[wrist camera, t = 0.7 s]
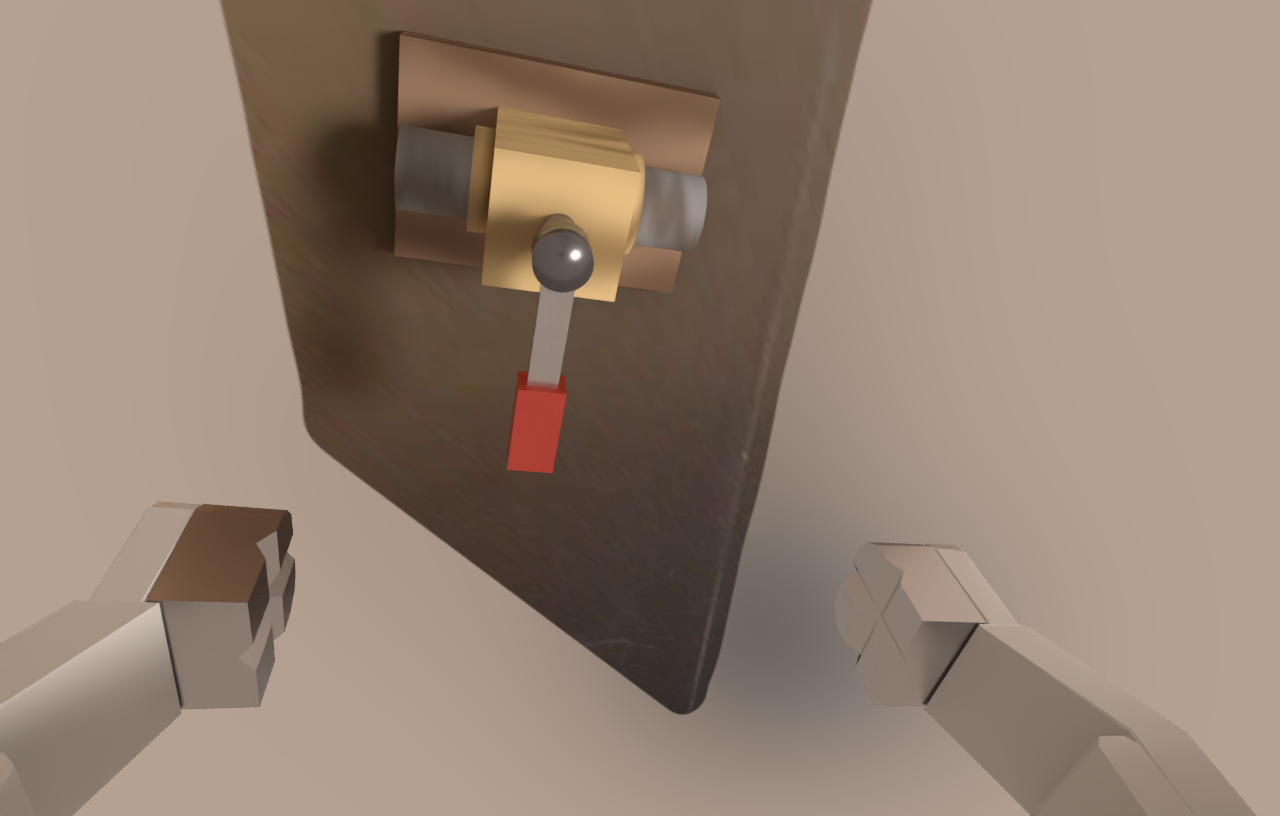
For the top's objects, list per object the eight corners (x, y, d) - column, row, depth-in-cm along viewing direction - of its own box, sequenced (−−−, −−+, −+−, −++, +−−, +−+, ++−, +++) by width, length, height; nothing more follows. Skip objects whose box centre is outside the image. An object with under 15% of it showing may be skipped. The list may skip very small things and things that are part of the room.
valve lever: (535, 216, 38) (536, 230, 36) (595, 225, 39) (598, 240, 37) (504, 449, 47) (503, 469, 45) (553, 453, 47) (555, 473, 46)
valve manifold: (402, 30, 44) (367, 73, 34) (715, 94, 48) (769, 148, 38) (397, 247, 51) (367, 336, 41) (668, 284, 56) (702, 373, 46)
